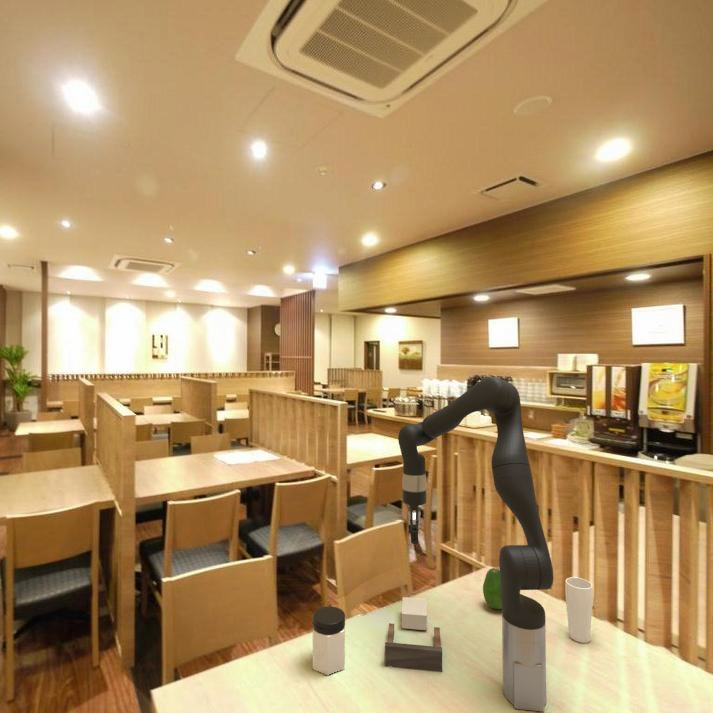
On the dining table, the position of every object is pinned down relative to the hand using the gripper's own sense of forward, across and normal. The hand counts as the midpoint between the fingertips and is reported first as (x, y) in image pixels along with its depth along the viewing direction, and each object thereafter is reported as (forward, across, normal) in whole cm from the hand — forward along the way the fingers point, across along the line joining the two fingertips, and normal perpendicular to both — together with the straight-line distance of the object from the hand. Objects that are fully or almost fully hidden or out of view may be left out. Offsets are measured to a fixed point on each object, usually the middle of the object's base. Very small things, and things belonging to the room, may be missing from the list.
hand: (414, 542), depth 137 cm
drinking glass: (+19, -11, -45) cm, 50 cm away
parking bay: (+19, -23, 0) cm, 30 cm away
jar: (+19, -31, +21) cm, 42 cm away
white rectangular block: (+19, -10, 0) cm, 21 cm away
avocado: (+19, +1, -25) cm, 32 cm away
